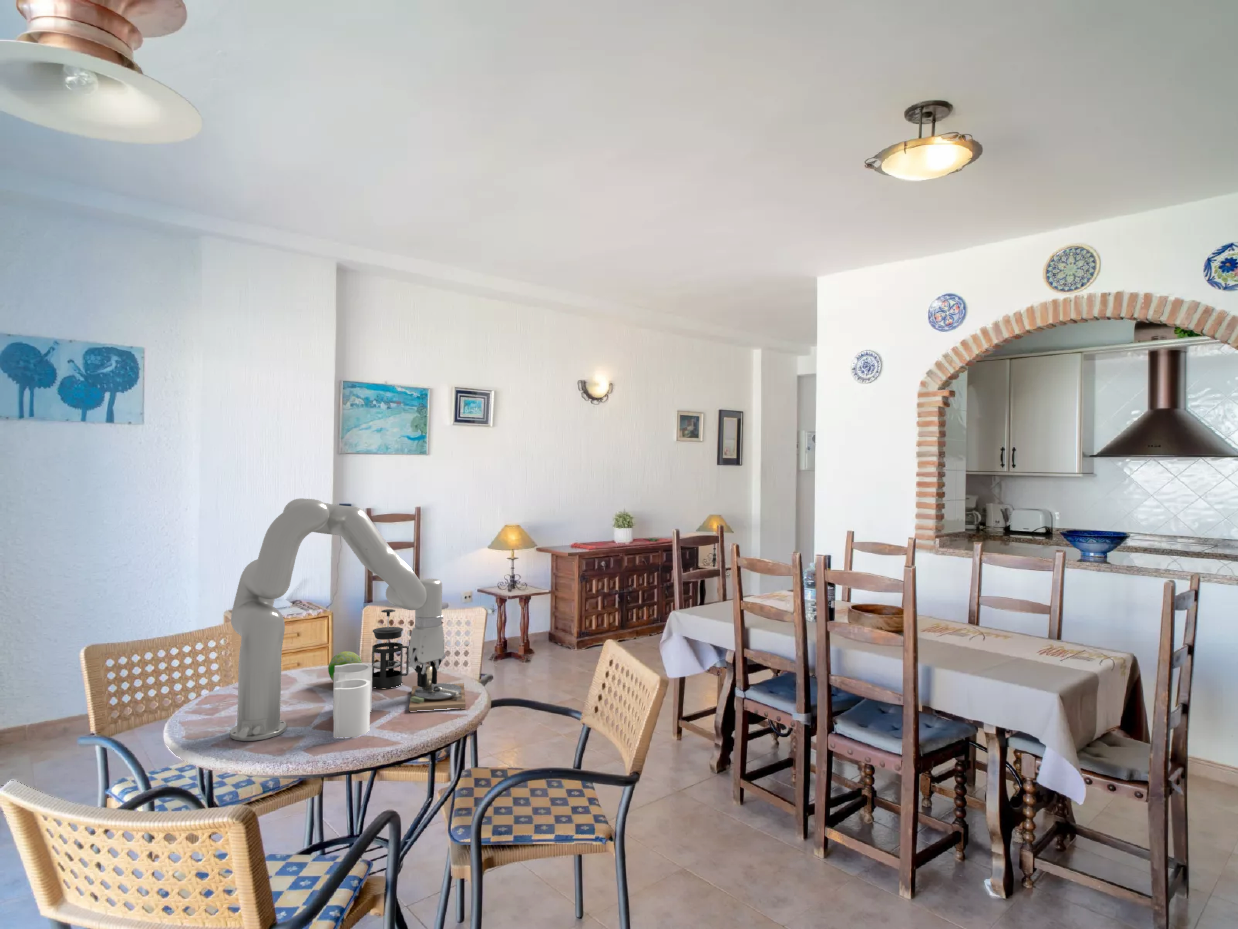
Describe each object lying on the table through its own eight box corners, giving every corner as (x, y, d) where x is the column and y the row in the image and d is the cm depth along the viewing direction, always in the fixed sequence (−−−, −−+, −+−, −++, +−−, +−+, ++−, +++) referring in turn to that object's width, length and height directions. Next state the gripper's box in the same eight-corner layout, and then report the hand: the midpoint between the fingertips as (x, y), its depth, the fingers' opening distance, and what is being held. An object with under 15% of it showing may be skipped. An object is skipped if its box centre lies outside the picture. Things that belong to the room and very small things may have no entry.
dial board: (465, 709, 195) (465, 700, 195) (409, 712, 191) (409, 703, 191) (463, 688, 214) (464, 679, 214) (412, 690, 210) (412, 682, 210)
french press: (364, 689, 211) (365, 612, 212) (373, 680, 221) (375, 606, 221) (403, 689, 212) (405, 612, 212) (411, 680, 221) (413, 607, 222)
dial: (473, 692, 204) (473, 667, 204) (440, 704, 193) (440, 678, 193) (438, 684, 211) (438, 660, 212) (404, 695, 200) (405, 670, 200)
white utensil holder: (372, 736, 174) (373, 686, 174) (329, 740, 170) (331, 690, 171) (371, 705, 197) (372, 661, 197) (333, 708, 194) (334, 664, 194)
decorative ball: (367, 680, 221) (367, 648, 221) (353, 689, 211) (354, 656, 211) (336, 679, 221) (337, 647, 222) (321, 688, 211) (322, 655, 212)
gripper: (439, 615, 214) (438, 676, 214) (397, 625, 200) (395, 690, 200) (457, 618, 210) (456, 680, 210) (415, 628, 196) (414, 694, 196)
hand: (427, 684), depth 205 cm, fingers open, 3 cm apart
